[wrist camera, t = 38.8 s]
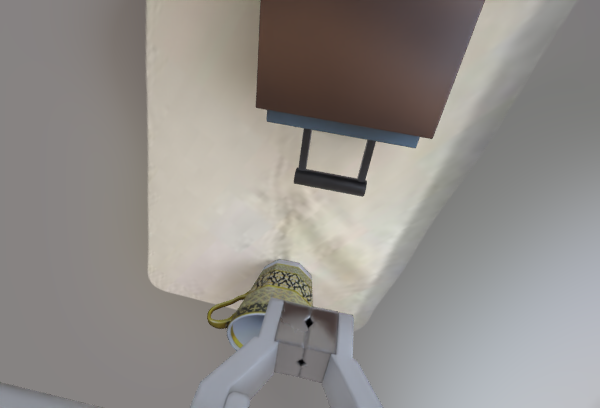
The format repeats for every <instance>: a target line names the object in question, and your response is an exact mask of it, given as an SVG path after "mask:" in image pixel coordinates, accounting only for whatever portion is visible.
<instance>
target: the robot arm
mask: <svg viewBox="0 0 600 408" xmlns="http://www.w3.org/2000/svg"><path fill="white" fill-rule="evenodd" d="M353 324H354V318H353V315H350V314H345V313H340V312H339V313H338V311H333V310H328V309H323V308H318V307H313V306H311V307H310V306H306V305H302V304H298V303H294V302H289V301H285V300H281V299H277V298H272V297H271V299H270V300H269V303H268V307H267V310H266V313H265V316H264V320H263V323H262V326H261V329H260V333H259V336H258V337H253V338H252V339H251V340H249V341H248V342H247V343H246V344H245V345H243V346H242V347H241V348H240V349H239V350H238V351H236V352H235V353H234V354H233V355H232V356H230V357H229V358H228V359H227V360H226V361H225V362H224V363H222V364H221V365H220V366H219V367H217V368H216V369H215V370H214V371H213V372H211V373H210V374H209V375H208V376H207V377H206V378H205V379H203V380H202V381H201V382H200V384H199V387H198V389H197V391H196V394H195V396H194V399H193V401H192V403H191V406H190V408H249V405H250V400H251V399H252V398H253V397H254V396H255V394H256V393H257V392H258V391H259V390H260V389H261V388H262V387H263V386H264V384H265V383H266V382H267V381H268V380H269V379H270V378H271V377H272V375H273V374H274V372H276V373H281V374H286V375H291V376H296V377H300V378H304V379H308V380H312V381H315V382H320V383H322V386H323V389H324V392H325V394H326V397H327V400H328V402H329V405H330V408H383V406H382V404H381V402H380V401H379V399H378V397H377V395H376V393H375V392H374V390H373V388H372V386H371V384H370V383H369V381H368V379H367V377H366V375H365V374H364V372H363V370H362V368H361V366H360V365H359V363H358V361H357V360H356V359H353ZM0 408H103V407H99V406H95V405H90V404H86V403H83V402H79V401H75V400H71V399H67V398H63V397H59V396H54V395H51V394H46V393H42V392H38V391H34V390H30V389H26V388H22V387H18V386H14V385H10V384H6V383H2V382H0Z"/></svg>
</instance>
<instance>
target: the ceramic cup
mask: <svg viewBox="0 0 600 408" xmlns="http://www.w3.org/2000/svg"><path fill="white" fill-rule="evenodd" d="M271 297H272V298H277V299H281V300H285V301H289V302H294V303H298V304H302V305H306V306H310V307H311V306H313V303H312V277H311V275H310V274H309V273H308V272H307V271H306V270H305V269H304V268H303V266H302V265H301V264H300V263H297V262H291V261H286V260H281V259H279V260H277V261H275V262H273V263H271V264H269V265H267V266H265V267H264V269H263V270H262V272H261V274H260V276H259V277H258V279H257V280H256V282H255V283H254V285H253V287H252V288H251V290H249V291H248V292H247V293H245V294H244V295H241V296H238V297H236V298H234V299H232V300H229V301H226V302H223V303H220V304H217V305H215V306H214V307H212V308H211V309H210V310H209V312H208V316H207V319H208V322H209V324H210V325H211V326H213V327H215V328H218V329H224V328H227V337H228V340H229V342H230V344H231V345H232V346H233V348H234V349H235V350H236V351H238V350H239V349H240V348H241V347H242V346H243V345H245V344H246V343H247V342H248V341H249V340H251V339H252V338H253V337H258V336H259V333H260V329H261V326H262V323H263V320H264V316H265V313H266V310H267V307H268V303H269V300H270V299H271ZM243 299H244V301H243V302H242V304H241V305H240V307H239V308H238V310H237V311H236V313H234V314H233V315H232V316H231V317H230V318H228V319H224V320H214V319H211V314H212V312H213V311H215V310H216V309H219V308H222V307H225V306H228V305H231V304H233V303H235V302H237V301H239V300H243Z"/></svg>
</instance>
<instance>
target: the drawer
mask: <svg viewBox="0 0 600 408" xmlns="http://www.w3.org/2000/svg"><path fill="white" fill-rule="evenodd" d="M267 122H272V123H278V124H283V125H289V126H295V127H300V128H304V132H303V139H302V147H301V154H300V161H299V168H297V169H296V172H295V177H294V183H295V184H300V185H305V186H310V187H315V188H320V189H326V190H331V191H336V192H341V193H347V194H352V195H357V196H362V197H363V196H364V194H365V190H366V185H367V181H366V180H365V179H366V175H367V171H368V168H369V164H370V161H371V157H372V153H373V150H374V146H375V142H376V141H378V142H384V143H389V144H395V145H400V146H406V147H412V148H416V146H417V143H418V140H419V137H418V136H413V135H407V134H401V133H396V132H390V131H384V130H379V129H373V128H368V127H362V126H356V125H351V124H345V123H339V122H334V121H328V120H322V119H317V118H311V117H305V116H300V115H294V114H288V113H283V112H277V111H272V110H267ZM312 130H317V131H322V132H328V133H334V134H339V135H345V136H350V137H356V138H361V139H367V143H366V147H365V151H364V155H363V159H362V162H361V166H360V170H359V174H358V179H356V178H351V177H346V176H340V175H335V174H330V173H324V172H319V171H314V170H308V169H306V167H307V160H308V153H309V147H310V140H311V133H312Z"/></svg>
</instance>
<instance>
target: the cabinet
mask: <svg viewBox="0 0 600 408" xmlns="http://www.w3.org/2000/svg"><path fill="white" fill-rule="evenodd" d="M484 2H485V0H261V3H260V25H259V48H258V70H257V92H256V108H260V109H266V110H272V111H277V112H283V113H288V114H294V115H300V116H305V117H311V118H317V119H322V120H328V121H334V122H339V123H345V124H351V125H356V126H362V127H368V128H373V129H379V130H384V131H390V132H396V133H401V134H407V135H413V136H418V137H424V138H430V139H432V138H433V136H434V133H435V131H436V128H437V125H438V123H439V120H440V117H441V115H442V112H443V110H444V107H445V104H446V102H447V99H448V96H449V94H450V91H451V89H452V86H453V83H454V81H455V78H456V75H457V73H458V70H459V67H460V65H461V62H462V60H463V57H464V54H465V52H466V49H467V46H468V44H469V41H470V38H471V36H472V33H473V31H474V28H475V25H476V23H477V20H478V17H479V15H480V12H481V9H482V7H483V4H484Z"/></svg>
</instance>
